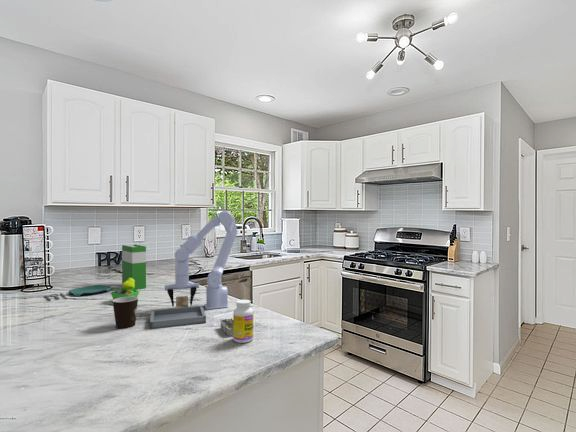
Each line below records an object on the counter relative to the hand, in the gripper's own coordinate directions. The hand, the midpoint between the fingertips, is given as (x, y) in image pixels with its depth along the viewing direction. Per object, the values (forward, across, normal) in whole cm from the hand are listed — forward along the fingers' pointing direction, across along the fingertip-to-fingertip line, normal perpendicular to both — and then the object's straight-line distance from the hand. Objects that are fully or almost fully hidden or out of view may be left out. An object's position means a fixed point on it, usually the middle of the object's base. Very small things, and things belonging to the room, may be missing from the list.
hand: (182, 305), depth 146 cm
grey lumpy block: (+2, -16, +36) cm, 40 cm away
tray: (+1, +2, +16) cm, 16 cm away
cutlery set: (+2, +50, -48) cm, 70 cm away
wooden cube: (+2, 0, 0) cm, 2 cm away
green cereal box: (+2, +25, -56) cm, 61 cm away
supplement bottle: (+2, -18, +46) cm, 49 cm away
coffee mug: (+2, +20, +16) cm, 26 cm away
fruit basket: (+2, +25, -21) cm, 33 cm away
